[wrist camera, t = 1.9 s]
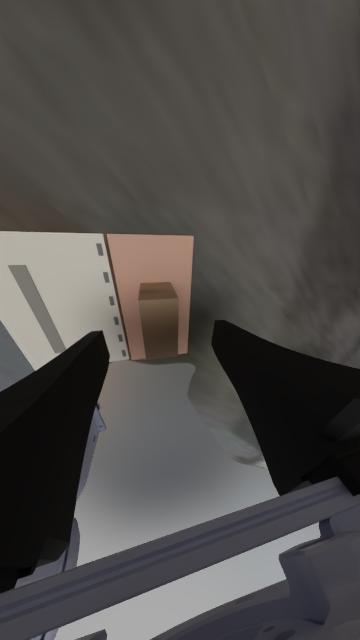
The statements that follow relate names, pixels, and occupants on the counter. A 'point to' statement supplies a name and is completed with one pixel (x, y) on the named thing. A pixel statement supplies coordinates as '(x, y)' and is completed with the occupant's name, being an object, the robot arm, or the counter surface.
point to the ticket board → (59, 293)
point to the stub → (154, 292)
